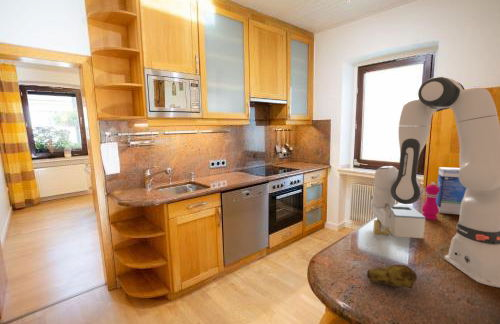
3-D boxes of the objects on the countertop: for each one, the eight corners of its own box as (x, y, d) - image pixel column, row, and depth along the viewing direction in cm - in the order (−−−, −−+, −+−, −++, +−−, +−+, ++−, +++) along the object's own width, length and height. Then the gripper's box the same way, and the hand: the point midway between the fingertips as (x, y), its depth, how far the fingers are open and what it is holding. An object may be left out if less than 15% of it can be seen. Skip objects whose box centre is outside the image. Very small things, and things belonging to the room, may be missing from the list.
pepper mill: (432, 215, 138) (436, 180, 135) (440, 220, 131) (445, 183, 128) (418, 215, 139) (422, 180, 136) (426, 220, 132) (430, 183, 129)
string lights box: (461, 211, 145) (467, 168, 141) (467, 215, 138) (473, 170, 134) (434, 208, 149) (438, 166, 146) (438, 212, 142) (443, 168, 139)
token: (388, 234, 115) (389, 222, 114) (374, 233, 116) (375, 221, 115) (387, 233, 117) (387, 220, 116) (373, 232, 118) (374, 220, 117)
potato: (375, 272, 86) (376, 250, 85) (418, 291, 76) (420, 267, 75) (364, 282, 81) (365, 259, 79) (408, 303, 71) (411, 278, 70)
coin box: (423, 238, 111) (425, 217, 109) (393, 236, 113) (395, 215, 112) (408, 224, 126) (410, 205, 125) (382, 222, 129) (384, 204, 127)
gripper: (399, 208, 103) (396, 239, 105) (383, 195, 123) (381, 221, 125) (383, 207, 104) (380, 238, 107) (370, 194, 124) (368, 220, 126)
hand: (381, 229), depth 116 cm, fingers closed on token, 2 cm apart
